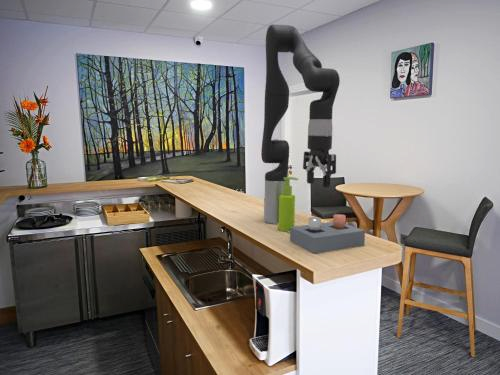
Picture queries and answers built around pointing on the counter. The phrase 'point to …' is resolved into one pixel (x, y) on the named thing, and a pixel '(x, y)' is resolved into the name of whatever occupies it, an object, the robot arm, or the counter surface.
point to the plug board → (327, 237)
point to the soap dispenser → (286, 206)
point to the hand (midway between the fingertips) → (318, 185)
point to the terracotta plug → (339, 221)
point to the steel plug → (314, 225)
